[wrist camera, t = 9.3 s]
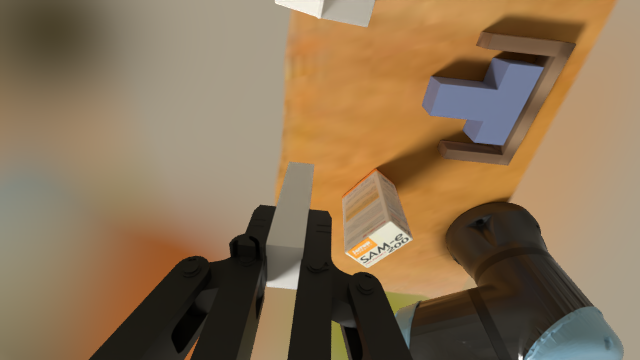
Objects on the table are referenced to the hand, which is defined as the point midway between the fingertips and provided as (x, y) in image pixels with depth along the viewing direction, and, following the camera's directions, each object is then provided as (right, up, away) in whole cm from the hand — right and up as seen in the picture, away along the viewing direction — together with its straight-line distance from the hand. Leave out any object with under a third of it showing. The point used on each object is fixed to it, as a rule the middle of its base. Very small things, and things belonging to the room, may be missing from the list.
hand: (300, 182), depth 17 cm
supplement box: (+10, -1, +30) cm, 32 cm away
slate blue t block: (+21, +12, +20) cm, 31 cm away
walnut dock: (+24, +11, +21) cm, 34 cm away
